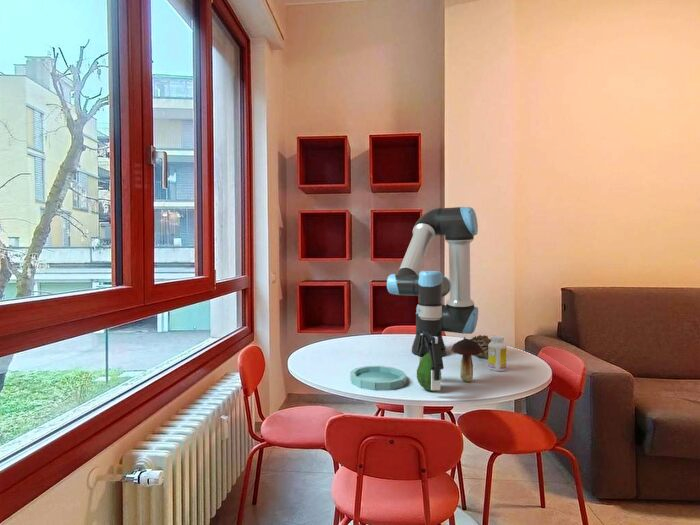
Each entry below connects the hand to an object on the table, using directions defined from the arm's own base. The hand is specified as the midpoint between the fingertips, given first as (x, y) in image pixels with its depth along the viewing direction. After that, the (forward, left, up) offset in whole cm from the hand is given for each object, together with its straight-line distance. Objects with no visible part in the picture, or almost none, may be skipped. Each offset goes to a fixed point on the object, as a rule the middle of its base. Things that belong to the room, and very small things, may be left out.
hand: (428, 382), depth 127 cm
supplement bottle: (-34, -20, -2) cm, 40 cm away
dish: (+15, -10, -2) cm, 18 cm away
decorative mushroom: (-16, -7, -2) cm, 18 cm away
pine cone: (-35, -41, -2) cm, 54 cm away
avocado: (0, 0, -2) cm, 2 cm away
